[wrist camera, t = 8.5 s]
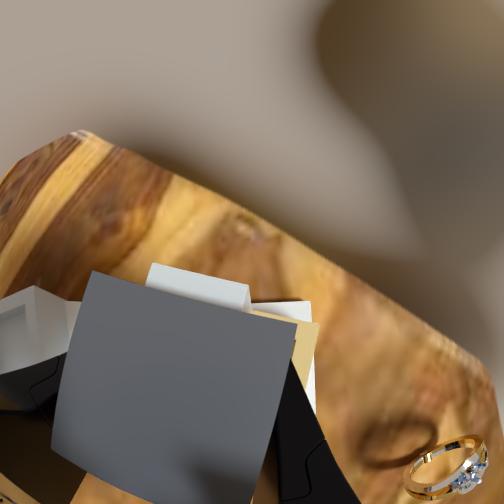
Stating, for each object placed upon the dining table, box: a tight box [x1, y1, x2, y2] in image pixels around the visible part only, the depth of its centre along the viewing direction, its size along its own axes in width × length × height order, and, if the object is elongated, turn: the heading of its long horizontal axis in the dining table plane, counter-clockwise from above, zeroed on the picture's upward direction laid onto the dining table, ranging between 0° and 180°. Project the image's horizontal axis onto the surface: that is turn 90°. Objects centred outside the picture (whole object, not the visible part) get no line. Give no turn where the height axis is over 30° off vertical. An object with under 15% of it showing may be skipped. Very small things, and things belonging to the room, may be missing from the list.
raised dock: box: [0, 285, 70, 374], centre depth 19 cm, size 9×9×6 cm
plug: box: [51, 263, 298, 504], centre depth 8 cm, size 5×4×9 cm
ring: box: [403, 435, 489, 500], centre depth 13 cm, size 7×3×8 cm, turn 106°
